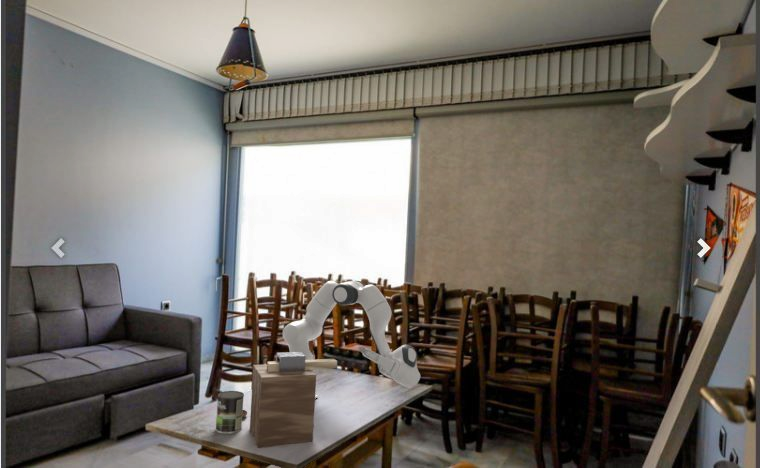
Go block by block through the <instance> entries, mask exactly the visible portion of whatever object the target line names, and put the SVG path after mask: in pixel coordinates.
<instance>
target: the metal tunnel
mask: <svg viewBox="0 0 760 468" xmlns="http://www.w3.org/2000/svg"><path fill="white" fill-rule="evenodd" d="M305 358H306V356H305V355H304V354H303V353H302V352H290V351H289V352H287V351H286V352H285V351H284V352H276V358H275V360H276V361H280V367H279V372H296V371H305Z"/></svg>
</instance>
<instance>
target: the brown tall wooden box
mask: <svg viewBox="0 0 760 468" xmlns="http://www.w3.org/2000/svg"><path fill="white" fill-rule="evenodd" d="M252 368H253V369H252V380H251V381H252V383H251V384H252V386H251V400H250V402H251V403H250V416H249V417H250V418H249V419H250V421H249V430H250V434H251V435H252V438H253V441H254V444H255V445H256V448H257V449H262V448H271V447H278V446H279V447H280V446H288V445H289V446H290V445H297V444H298V445H299V444H307V443H308V444H309V443H313V442H314V426H315V425H314V424H315V406H316V404H315V403H316V399H315V394H316V390H317V389H316V387H317V373H315V372H314V370H313V369H312V370H313V371H312V370H305V371H296V372H279V371H273V372H268V370H267V363H265V364H253V365H252Z"/></svg>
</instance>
